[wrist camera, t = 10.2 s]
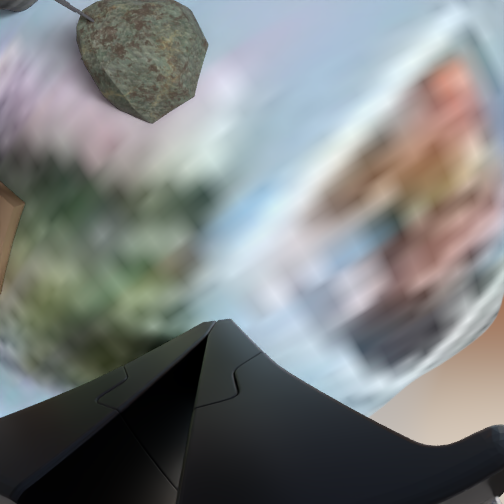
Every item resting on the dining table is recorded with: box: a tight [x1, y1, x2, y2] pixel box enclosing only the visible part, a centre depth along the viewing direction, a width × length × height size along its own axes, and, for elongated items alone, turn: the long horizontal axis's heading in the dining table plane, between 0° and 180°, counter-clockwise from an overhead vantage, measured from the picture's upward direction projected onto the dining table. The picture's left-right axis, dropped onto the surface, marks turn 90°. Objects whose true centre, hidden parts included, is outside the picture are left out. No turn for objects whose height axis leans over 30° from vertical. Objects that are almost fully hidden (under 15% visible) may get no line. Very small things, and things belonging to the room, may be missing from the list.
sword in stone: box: [55, 0, 208, 123], centre depth 11 cm, size 10×8×12 cm
